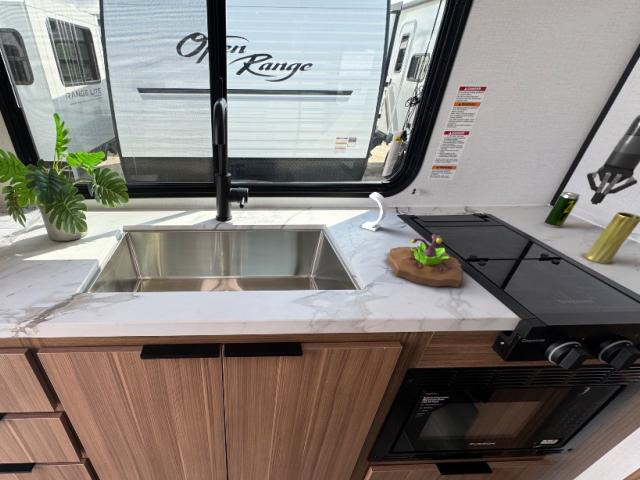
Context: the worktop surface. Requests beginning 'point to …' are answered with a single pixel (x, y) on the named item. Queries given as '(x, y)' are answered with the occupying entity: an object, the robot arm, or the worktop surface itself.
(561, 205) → the beer can
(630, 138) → the robot arm
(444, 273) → the plant
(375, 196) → the headphone stand
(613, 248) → the vase
